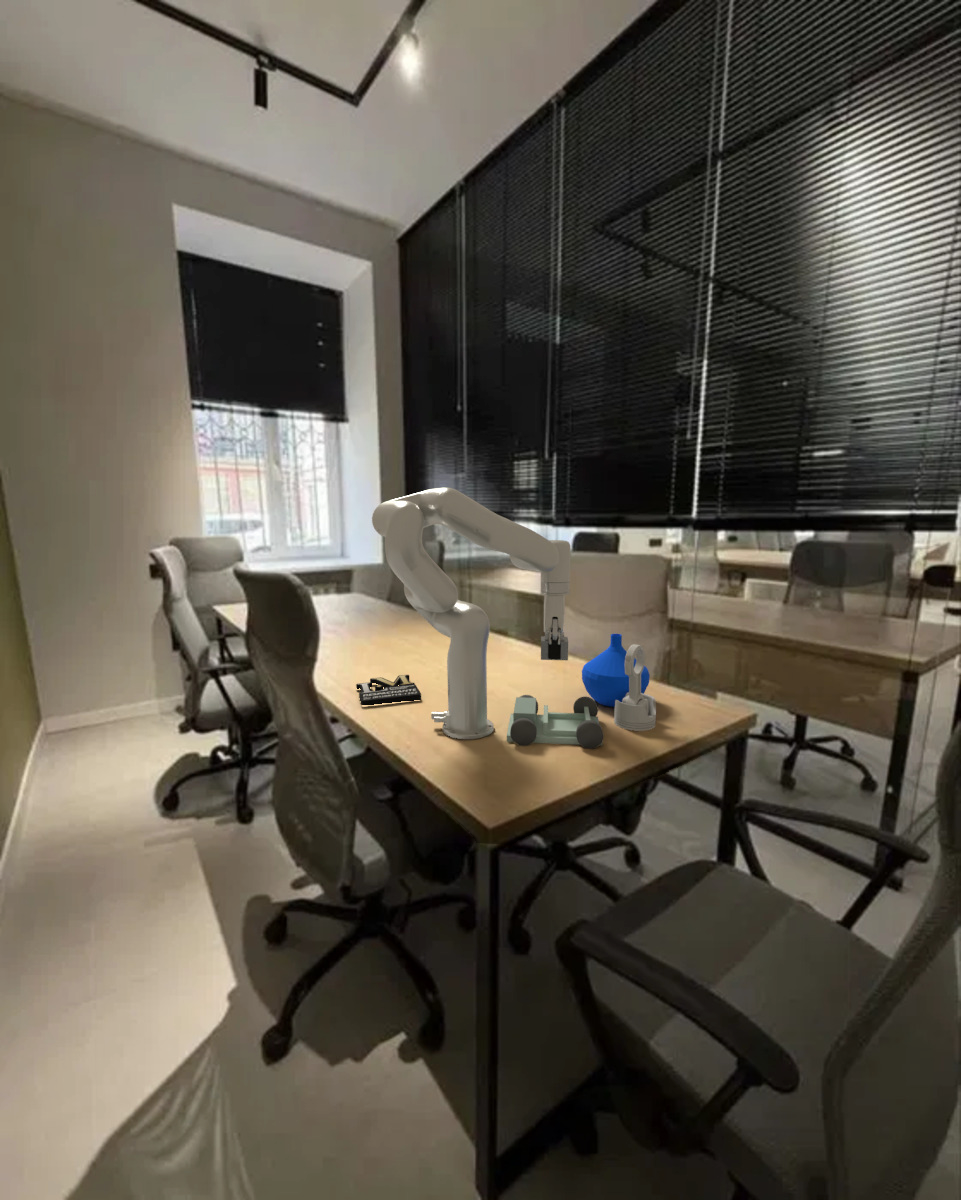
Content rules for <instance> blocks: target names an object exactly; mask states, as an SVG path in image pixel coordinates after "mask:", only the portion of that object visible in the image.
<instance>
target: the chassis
mask: <svg viewBox="0 0 961 1200" xmlns="http://www.w3.org/2000/svg"><path fill="white" fill-rule="evenodd" d="M598 711H599V710H598V704H597V702H596V701H595V700H594V699H593V698H592V697H591V696H581V697H579V698H577V699H576V700H575V701H574V703H573V712H558V711H557V712H554V711H552V712H550V711H549V704H548V705H547V704H545V705H543V714H538V712H539V703H538V700H537V697H534V696H532V695H531V694H523V695H520V696H516V697H515V703H514V708H513V713H510V716H509V722H508V727H507V733H506V742H508V743H511V742H512V743H515V744H516V745H518V746H521V747H526V746H529V745H531V744H558V745H559V744H560V745H581V747H583V748H584V749H596V748H598V747H599V746H601V747H603V746H604V744H603V742H604V736H605V735H604V730H603V728H602V727H603V726H601V725H600V722H599V716H598V713H599V712H598Z"/></svg>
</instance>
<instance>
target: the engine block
mask: <svg viewBox="0 0 961 1200" xmlns="http://www.w3.org/2000/svg"><path fill="white" fill-rule="evenodd" d="M551 636H553V635H551ZM557 636H558V635H557ZM548 644H549V632H546V633H545V632H544V636H543V635H541V636H540V660H542V661H569V639H568V636H565V632H564V631H563V632H562V633H560V644H561V658H560V659H548Z"/></svg>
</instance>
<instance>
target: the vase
mask: <svg viewBox="0 0 961 1200" xmlns="http://www.w3.org/2000/svg"><path fill="white" fill-rule="evenodd" d="M622 636H623V635H622V634H621V633H612V634H610V644H609V646H608V647H607V648H606V649H605V650H603V651H602V652H601V653H599V654H598V655H596V656H595V657H594V658H592V659H591V660H589V661H588V662H586V663H584V665H583V667H582V670H581V681H582V683H583V686H584V688H585V691H586V692H587V693H588V695H589V697H590V698H592V699H593V700H594V701H595V702H596V703H598V704H600V705H602V706H605V707H606V706H607V707H610V708H615V700H618V701H619V702H622V700H623V698H624V697H626V694H627V693H628V692H629V676H628V675H626V674H625V657H626V653H627V651H628V650H625V648H624V647H623V643H622V640H623V637H622ZM635 664H636V658H634V667H635ZM649 683H650V672H649V670H648V667H647V666H646V665H644V668H643V671H642V673H641V693H643V694H646V691H647V688H648V686H649Z"/></svg>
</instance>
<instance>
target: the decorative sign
mask: <svg viewBox="0 0 961 1200" xmlns="http://www.w3.org/2000/svg"><path fill="white" fill-rule="evenodd" d="M372 683H376V684H378V685H376V686H374V690H371V689H370V687H372V688H373V686H372ZM398 685H399V686H398ZM355 687H356V688H357V689H359V688H360V689H361V691H360V692H359V693H358V698H360V700H359V702H360V701H361V703H360V706H361V705H374V704H382V703H392V702H401V701H414V700H421V701H422V692H421V691H420V690H419V688H418V687H417V685H416V683H415V682H410V674H400V675H398V676H397V677H396V679H395V680H394V681H391V680H389V679H386V678H384V677H380V676H379V677H372V678H370V679H369V682H362V683H359V682H358V683H356V685H355ZM383 687H384V689H383ZM356 688H355V689H356Z"/></svg>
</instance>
